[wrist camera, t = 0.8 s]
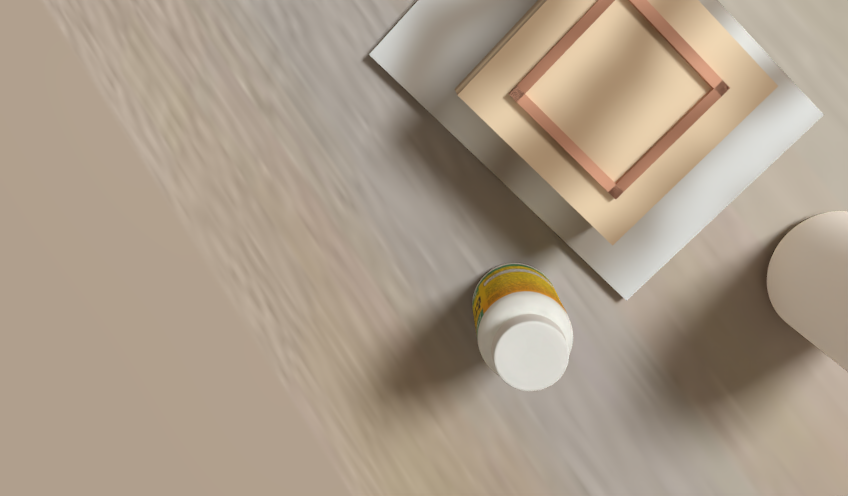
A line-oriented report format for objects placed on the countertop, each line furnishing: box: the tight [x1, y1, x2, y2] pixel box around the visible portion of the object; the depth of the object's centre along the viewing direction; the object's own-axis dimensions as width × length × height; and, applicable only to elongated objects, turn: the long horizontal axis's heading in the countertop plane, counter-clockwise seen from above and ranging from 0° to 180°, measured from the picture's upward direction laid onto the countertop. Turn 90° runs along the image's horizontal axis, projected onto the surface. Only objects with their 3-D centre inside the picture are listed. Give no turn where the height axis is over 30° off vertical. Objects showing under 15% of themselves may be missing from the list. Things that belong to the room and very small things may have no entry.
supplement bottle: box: [472, 263, 573, 391], centre depth 47 cm, size 5×5×10 cm
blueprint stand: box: [369, 0, 824, 301], centre depth 46 cm, size 22×16×6 cm
